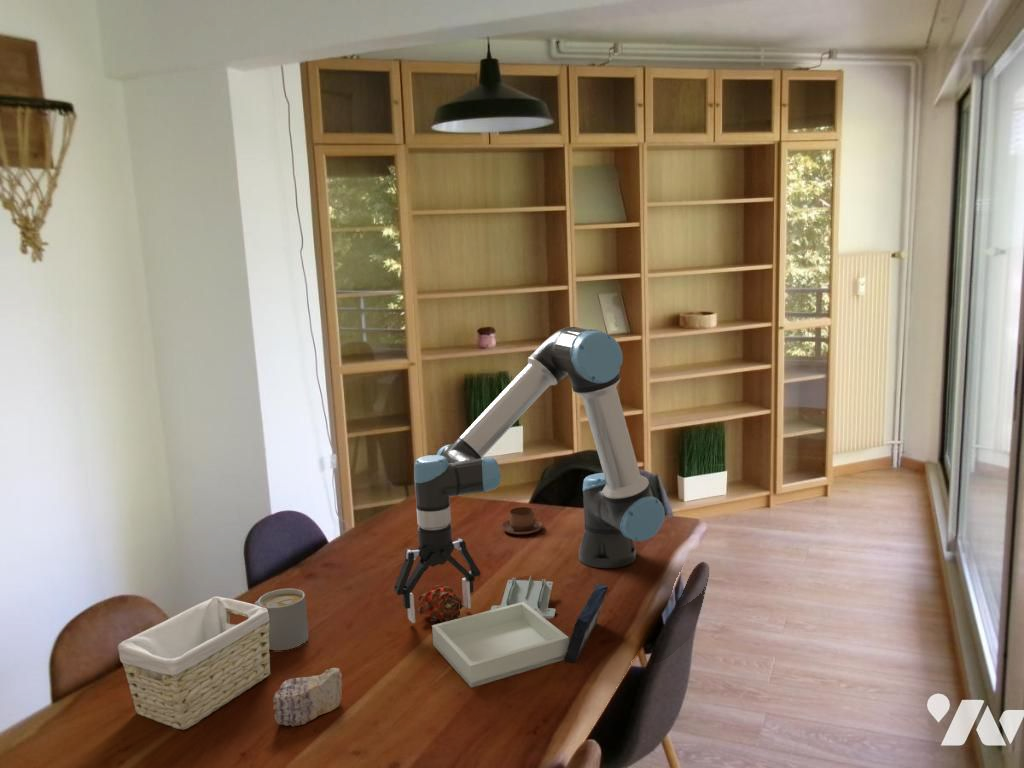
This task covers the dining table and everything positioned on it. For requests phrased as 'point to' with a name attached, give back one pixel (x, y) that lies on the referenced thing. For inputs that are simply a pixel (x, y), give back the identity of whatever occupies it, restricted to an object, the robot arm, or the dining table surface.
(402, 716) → the dining table surface
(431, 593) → the dragon fruit
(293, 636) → the coffee mug
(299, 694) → the mineral specimen
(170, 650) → the storage basket
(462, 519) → the dining table surface
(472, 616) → the tray
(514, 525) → the cup and saucer
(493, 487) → the robot arm
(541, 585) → the metal bracket
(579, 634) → the vhs cassette tape
